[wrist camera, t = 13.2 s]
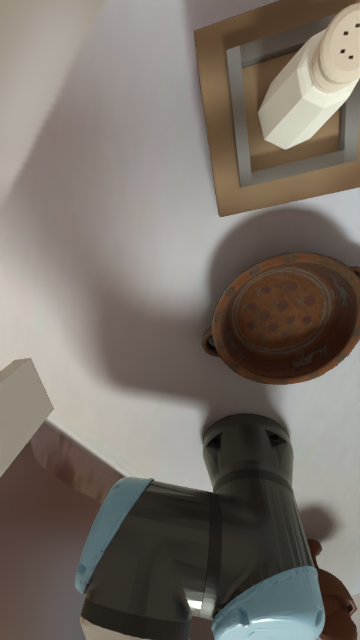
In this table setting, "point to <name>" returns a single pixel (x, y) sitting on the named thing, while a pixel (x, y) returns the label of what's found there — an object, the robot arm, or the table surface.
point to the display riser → (246, 98)
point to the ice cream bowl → (334, 602)
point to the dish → (287, 318)
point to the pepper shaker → (313, 82)
